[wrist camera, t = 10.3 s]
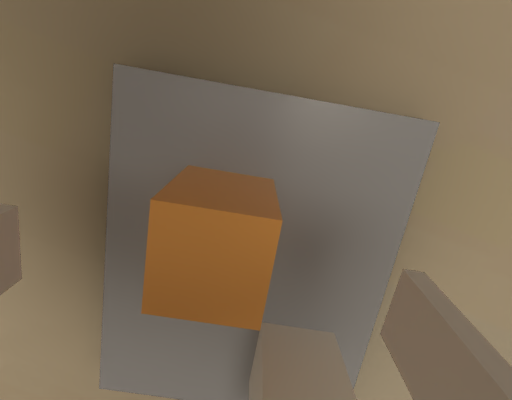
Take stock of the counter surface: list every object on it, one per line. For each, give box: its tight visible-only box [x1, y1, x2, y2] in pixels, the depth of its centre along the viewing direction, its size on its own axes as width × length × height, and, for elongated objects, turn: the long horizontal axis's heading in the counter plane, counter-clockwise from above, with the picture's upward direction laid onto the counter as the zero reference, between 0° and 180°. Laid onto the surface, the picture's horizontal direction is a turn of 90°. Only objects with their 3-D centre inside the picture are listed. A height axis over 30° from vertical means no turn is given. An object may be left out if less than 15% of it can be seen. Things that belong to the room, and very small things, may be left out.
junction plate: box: [99, 64, 440, 400], centre depth 18 cm, size 22×18×8 cm
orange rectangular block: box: [141, 165, 283, 331], centre depth 16 cm, size 5×5×7 cm
